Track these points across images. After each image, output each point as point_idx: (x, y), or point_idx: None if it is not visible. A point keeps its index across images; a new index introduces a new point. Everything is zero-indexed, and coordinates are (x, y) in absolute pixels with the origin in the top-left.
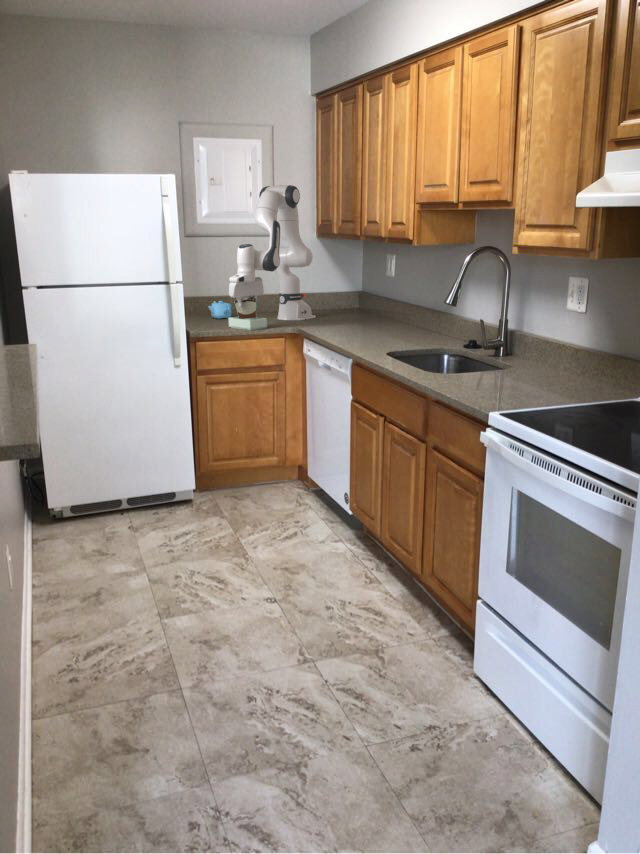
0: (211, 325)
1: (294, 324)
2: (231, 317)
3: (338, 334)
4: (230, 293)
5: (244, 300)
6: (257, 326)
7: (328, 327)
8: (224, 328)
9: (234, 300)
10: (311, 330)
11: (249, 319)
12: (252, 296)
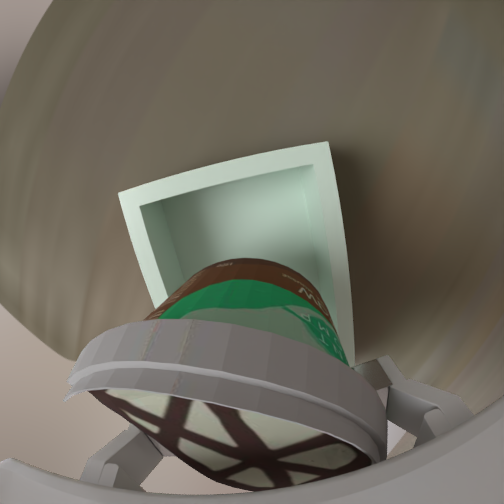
0: (110, 31)
1: (499, 282)
2: (148, 189)
3: None
4: (2, 498)
5: (206, 475)
6: None
7: (480, 398)
8: (109, 210)
9: (69, 397)
10: (407, 442)
11: (319, 229)
12: (431, 430)
